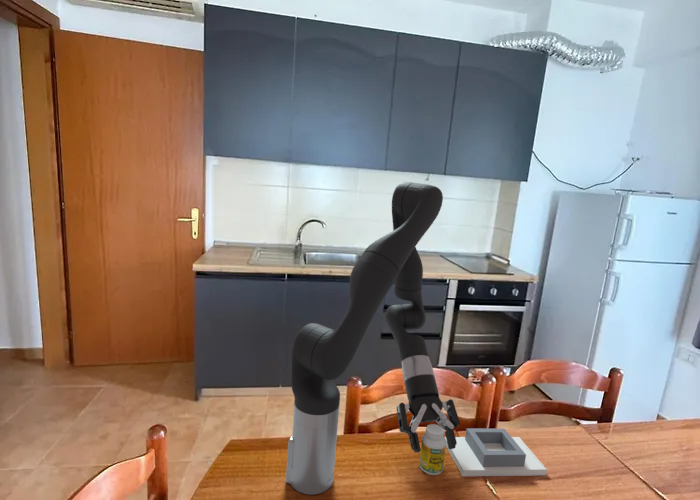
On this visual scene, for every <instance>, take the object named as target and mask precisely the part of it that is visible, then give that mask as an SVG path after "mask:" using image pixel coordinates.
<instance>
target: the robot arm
mask: <svg viewBox="0 0 700 500" xmlns="http://www.w3.org/2000/svg"><path fill="white" fill-rule="evenodd" d="M443 198H444V196H443V193H442V190H441V189H440V188H439V187H437V186H436V185H430V184H426V183H418V182H411V181H401V182H400V183H399V184H397V185H396V187H395V188H394V190H393V193H392V199H391V218H392V231H390V232H388V233H387V234H385V235H383V236H381V237H380V238H378V239H376V240H374V241H373V242H372V243H371V244H369V245H368V246H367V247H366V249H364V251H363V252H362V254H361V255H360V257H359V258H358V260H357V261H356V263H355V264H354V266H353V268H352V270H351V273H350V276H349V301H348V307H347V310H346V312H345V314H344V316H343V318H342V319H341V321H340V323H339V324H338V326H337V327H336V328H335V329H333V328H331V327H328V326H326V325H325V326H324V325H322V324H320V323H316V322H311V323H307V324H305V325H304V326H303V327H301V329H300V330H299V331H298V332H297V334H296V335H295V338H294V340H293V345H292V348H291V349H292V350H291V390H292V393H293V396H294V400H293V401H294V403H293V404H294V405H293V419H292V421H293V422H292V435H291V436H290V437H289V439H288V442H287V454H286V455H287V457H286V471H285V472H286V473H285V483H287V484H290V485H291V487H292V488H293V489H294V490H296V492H298V493H301V494H305V495H318V494H321V493H325V492H326V491H327V490H329V489H330V488H331V487H332V485H333V483H334V477H335V476H334V475H335V466H336V465H335V462H336V451H337V440H338V439H337V438H338V427H339V414H340V402H341V393H340V390H339V388H338V386H337V385H336V384H335V382H334V381H335V380H337V379H338V378H340V377H341V376H342V375H344V373H345V372H346V370H347V369H348V368H349V366H350V364H351V362H352V360H353V359H354V357H355V355H356V353H357V352H358V348H359V346H360V344H361V342H362V341H363V338H364V336H365V334H366V332H367V329H369V326H370V323H371V322H372V320H373V318H374V316H375V315H376V314H377V310H378V309H379V308H380V305H381V303H383V301H384V299H385V297H386V296H387V294H388V292H389V291H390V290H391V288H392V287H393V285H394V288H393V289H394V295H395V296H396V297H397V298H398V299H400V300H404V301H409V302H410V303H403V304H392V305H389V306H388V307H387V309H386V312H385V322H386V325H387V327H388V329H389V331H390V333H391V334H392V337H393V338H394V340H395V343H396V345H397V348H398V352H399V353H398V354H399V356H400V362H401V372H402V379H403V382H404V386H405V392H406V396H407V400H408V403H405V402H400V403H399V404H397V406H396V413H397V420H398V429H399V432H400V433H401V434H402V433H405V434H407V435H408V437H409V438H408V439H409V445H410V449H411V450H412V451H413V452H414V454H415V453H421V444H420V439H419V435H418V432H417V430H418V427H419V425H420V423H421V424H424V423H434V422H436V423H437V425H439V426H441V427H442V428H443V429H444V436H445V437H446V439H447V443H448V448H449V449H454V448H455V447H456V446H455V445H456V444H457V442H456V438H455V437H456V435H455V428H457V427H459V426H460V425H461V422H460V418H459V415H458V413H457V409H456V405H455V403H454V400H453V399H451V398H450V399H447V400H446V401H442V400H441V398H440V395H439V388H438V385H437V384H438V383H437V381H436V377H435V373H434V368H433V365H432V362H431V360H430V357H429V353H428V348H427V345H426V341H425V339H424V337H423V336H421V335H418V334H413V333H409V332H408V331H417V330H420V329H422V328H423V327H424V326H425V324H426V312H425V308H424V304H423V296H422V293H423V292H422V289H423V288H422V287H423V277H424V267H423V263H422V260H421V259H422V258H421V256H420V254H419V252H418V250H417V247H416V246H417V245H418V243H419V242H420V241H421V239H422V238H423V237H424V236H425V234H426V233H427V232H428V230H429V229H430V227H431V226H432V225H433V224H434V222H435V220H436V219H437V217H438V215H439V213H440V211H441V209H442V206H443V200H444V199H443ZM443 409H444V411H445V412H446V414H447V415H446V414H445V413H444V411H442V410H443ZM408 412H410V413H411V414H412V419H411V421H410V422H409V423H408V419H407V418H408V417H407V414H408ZM408 424H409V425H408Z"/></svg>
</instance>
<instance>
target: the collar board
mask: <svg viewBox="0 0 700 500" xmlns="http://www.w3.org/2000/svg"><path fill="white" fill-rule="evenodd" d="M444 438H445V440H446V449H447V450H448V451H447V452H448V453H449V455H450V456H451V458H452V460H453V462H454V463H455V465H456V467H457V470H459V472H460V474H461V476H462V477H510V476H511V477H514V476H515V477H517V476H518V477H519V476H521V477H522V476H523V477H524V476H525V477H526V476H529V477H530V476H531V477H532V476H534V477H535V476H547V472H548V469H547V468H546V466H544V464H543V463H542V462H541V461H540V459H538V457H537V456H536V455H535V453H533V451H532V450H531V449H530V448H529V447H528V445H527V444H526V443H525V442H524V441H523V440H522V439H521V437H520V436H511V435H510V433H508V431H507V430H506V429H505V428H484V427H483V428H482V427H481V428H479V427H478V428H473V427H472V428H465V436H455V438H456V442H457V444H456V445H455V446H456V447H455V448H454V449H449V448H448V443H447V439H446V436H444Z"/></svg>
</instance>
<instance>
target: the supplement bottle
mask: <svg viewBox="0 0 700 500" xmlns="http://www.w3.org/2000/svg"><path fill="white" fill-rule="evenodd" d="M444 437H445V429H444V428H443V427H442V426H441V425H439V424H435V423H434V424H433V423H431V424H428V425H427V426H426V427H425V433H424V434H423V435H422V437H421V444H420V449H421V451H420V454H419V468H420V470H421V471H422V472H424V473H425V474H427V475H431V476H438V475H440V474H441V473H442V472H443V470H444V465H445V458H446V457H445V455H446V449H447V447H446V440H445V438H444Z"/></svg>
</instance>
